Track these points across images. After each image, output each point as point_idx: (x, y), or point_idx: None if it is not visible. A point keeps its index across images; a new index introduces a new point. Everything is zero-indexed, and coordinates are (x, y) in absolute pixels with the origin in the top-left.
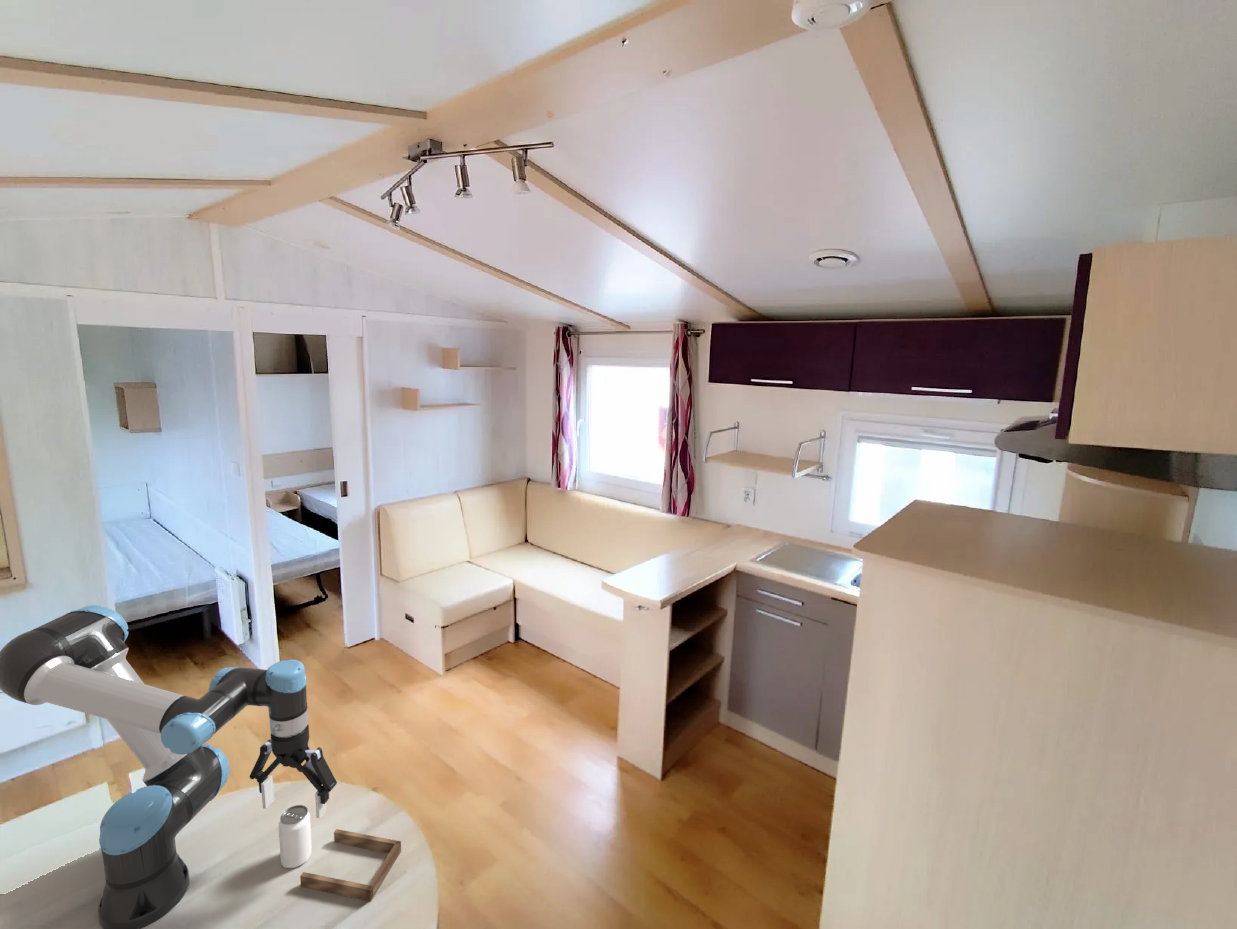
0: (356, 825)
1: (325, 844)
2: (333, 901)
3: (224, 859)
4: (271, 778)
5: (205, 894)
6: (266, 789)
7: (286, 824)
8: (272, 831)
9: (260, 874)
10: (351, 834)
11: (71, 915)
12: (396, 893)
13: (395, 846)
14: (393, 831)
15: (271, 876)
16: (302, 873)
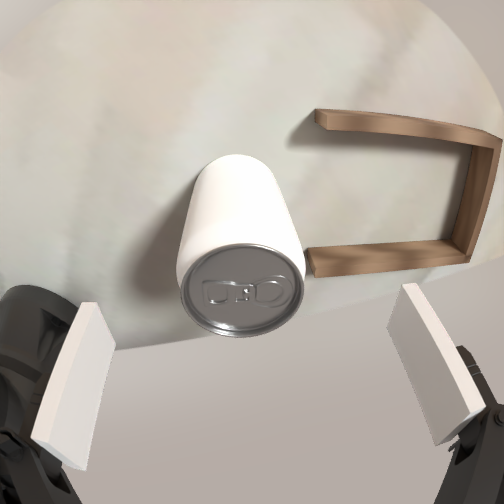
0: (344, 49)
1: (291, 133)
2: None
3: (71, 247)
4: (56, 438)
5: (122, 313)
6: (88, 424)
7: (248, 334)
8: (95, 142)
9: None
10: (387, 129)
11: None
12: (487, 222)
13: (496, 155)
14: (450, 68)
15: None
16: (316, 272)
